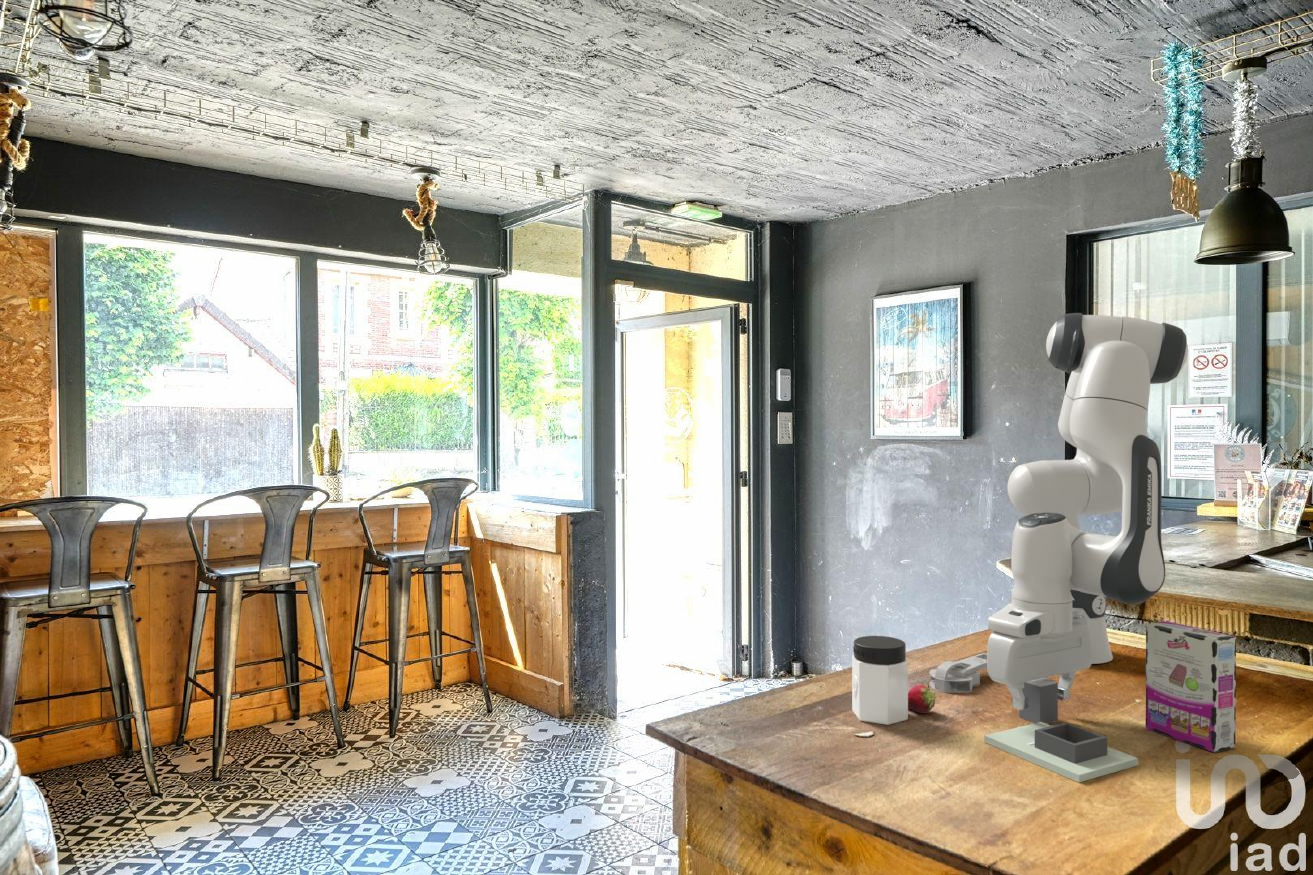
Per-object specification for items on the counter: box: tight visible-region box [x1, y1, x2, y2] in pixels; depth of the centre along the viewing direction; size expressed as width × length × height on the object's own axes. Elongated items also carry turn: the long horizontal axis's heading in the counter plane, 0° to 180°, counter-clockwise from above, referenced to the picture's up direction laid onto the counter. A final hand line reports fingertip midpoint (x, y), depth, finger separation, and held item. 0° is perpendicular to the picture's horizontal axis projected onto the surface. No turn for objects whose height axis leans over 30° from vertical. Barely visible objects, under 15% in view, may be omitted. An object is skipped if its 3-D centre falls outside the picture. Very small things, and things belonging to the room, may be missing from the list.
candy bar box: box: [1145, 620, 1237, 753], centre depth 130 cm, size 11×5×16 cm, turn 23°
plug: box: [1018, 677, 1059, 725], centre depth 139 cm, size 4×4×6 cm
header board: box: [983, 722, 1139, 783], centre depth 125 cm, size 16×12×4 cm
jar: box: [851, 635, 909, 726], centre depth 141 cm, size 9×8×12 cm
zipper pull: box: [928, 652, 987, 694], centre depth 159 cm, size 8×18×4 cm, turn 130°
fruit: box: [908, 683, 936, 714], centre depth 143 cm, size 4×6×5 cm
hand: (1041, 703), depth 139 cm, fingers open, 8 cm apart
